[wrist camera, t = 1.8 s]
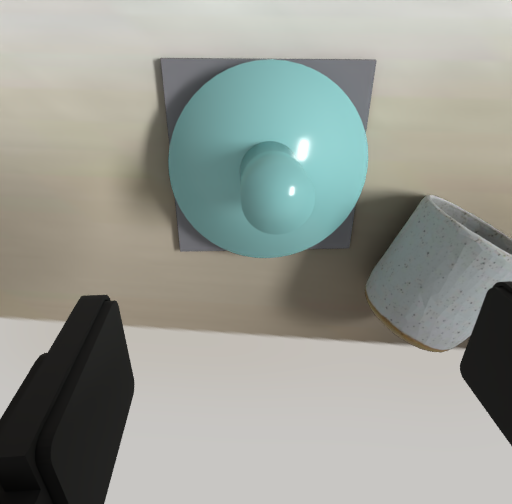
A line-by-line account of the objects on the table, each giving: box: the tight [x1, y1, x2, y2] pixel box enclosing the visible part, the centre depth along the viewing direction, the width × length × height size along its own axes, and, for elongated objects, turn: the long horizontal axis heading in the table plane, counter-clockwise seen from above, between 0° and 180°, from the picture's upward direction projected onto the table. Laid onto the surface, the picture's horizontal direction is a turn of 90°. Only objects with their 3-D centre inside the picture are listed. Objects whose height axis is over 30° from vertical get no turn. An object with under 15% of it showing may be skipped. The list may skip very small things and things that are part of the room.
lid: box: [168, 59, 368, 258], centre depth 21 cm, size 12×12×6 cm
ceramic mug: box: [365, 195, 512, 352], centre depth 25 cm, size 11×8×8 cm
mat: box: [161, 58, 376, 251], centre depth 24 cm, size 12×12×1 cm
